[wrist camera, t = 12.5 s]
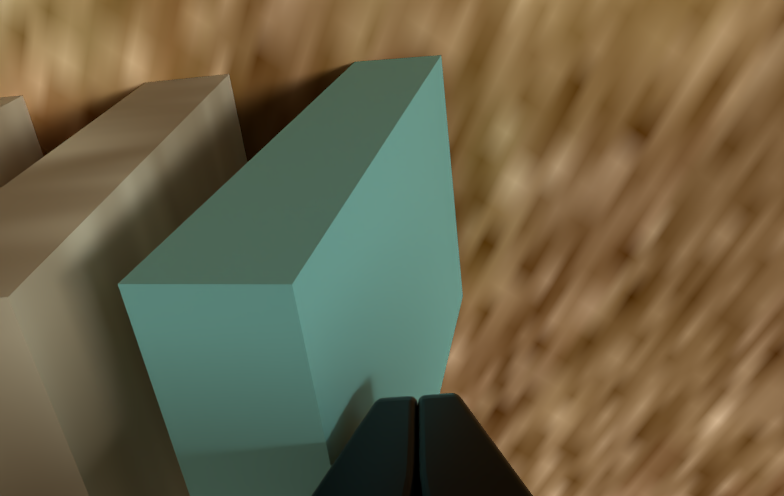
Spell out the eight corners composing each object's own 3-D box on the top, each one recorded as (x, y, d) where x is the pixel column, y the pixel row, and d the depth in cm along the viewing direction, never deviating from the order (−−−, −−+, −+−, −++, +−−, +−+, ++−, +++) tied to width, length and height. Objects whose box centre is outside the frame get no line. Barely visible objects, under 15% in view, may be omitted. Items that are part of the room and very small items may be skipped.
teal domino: (388, 295, 15) (243, 651, 8) (354, 61, 13) (117, 284, 6) (462, 295, 15) (374, 670, 8) (441, 55, 13) (292, 285, 6)
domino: (229, 74, 13) (8, 297, 6) (277, 303, 15) (158, 663, 8) (145, 82, 13) (-168, 311, 6) (204, 309, 16) (27, 668, 8)
